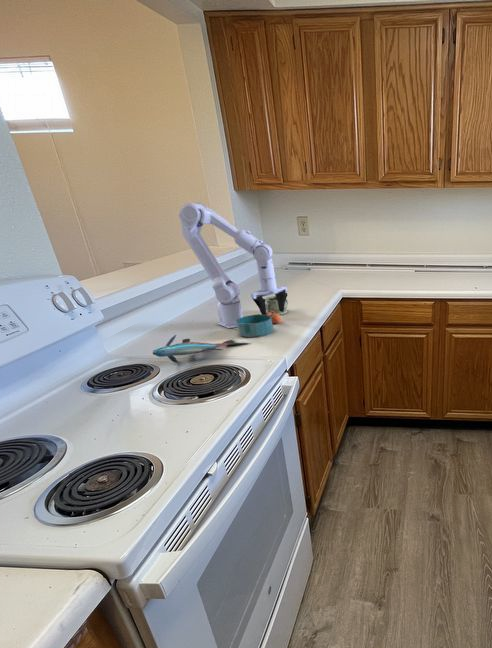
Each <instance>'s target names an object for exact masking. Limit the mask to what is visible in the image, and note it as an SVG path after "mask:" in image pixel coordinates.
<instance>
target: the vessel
mask: <svg viewBox="0 0 492 648" xmlns="http://www.w3.org/2000/svg"><path fill="white" fill-rule="evenodd" d="M264 299H266V301H265V308H266V312H267V313H271V311H273V312H275V314H278V315H280V316H281V315H285V314H287V313H288V310H287V309H288V305H289V301H288V299H287V298H286V301H285V305H284V312H281V311H279V307H278V301H277V298H276V295H270V296H266V297H265V298H264Z"/></svg>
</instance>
